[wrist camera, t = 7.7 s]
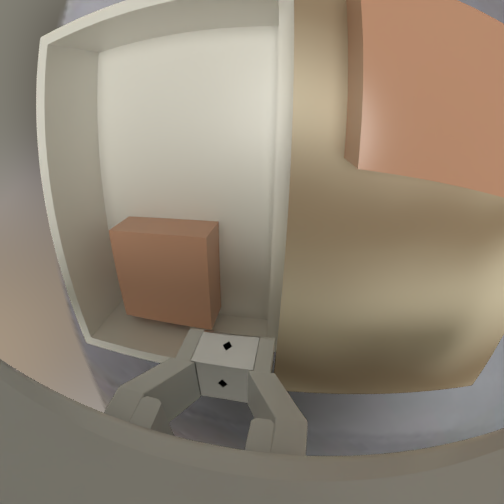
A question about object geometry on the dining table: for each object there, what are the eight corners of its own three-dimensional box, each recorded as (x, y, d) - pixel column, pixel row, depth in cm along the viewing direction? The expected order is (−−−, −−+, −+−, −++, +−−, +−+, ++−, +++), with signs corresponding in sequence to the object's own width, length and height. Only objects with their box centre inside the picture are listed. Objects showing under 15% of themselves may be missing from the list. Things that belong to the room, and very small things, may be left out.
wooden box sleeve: (445, 328, 15) (472, 385, 11) (280, 322, 17) (271, 389, 12) (497, 71, 8) (558, 68, 4) (295, 20, 10) (293, -30, 5)
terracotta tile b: (482, 183, 7) (517, 201, 5) (344, 158, 8) (357, 168, 6) (487, 43, 5) (521, 35, 3) (346, -1, 5) (357, -30, 4)
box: (280, 322, 17) (273, 381, 13) (122, 300, 18) (86, 342, 14) (295, 20, 10) (293, -23, 6) (97, 47, 11) (40, 37, 7)
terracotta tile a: (126, 314, 15) (141, 295, 17) (211, 329, 14) (221, 306, 16) (108, 230, 13) (129, 216, 14) (206, 237, 12) (218, 221, 14)
